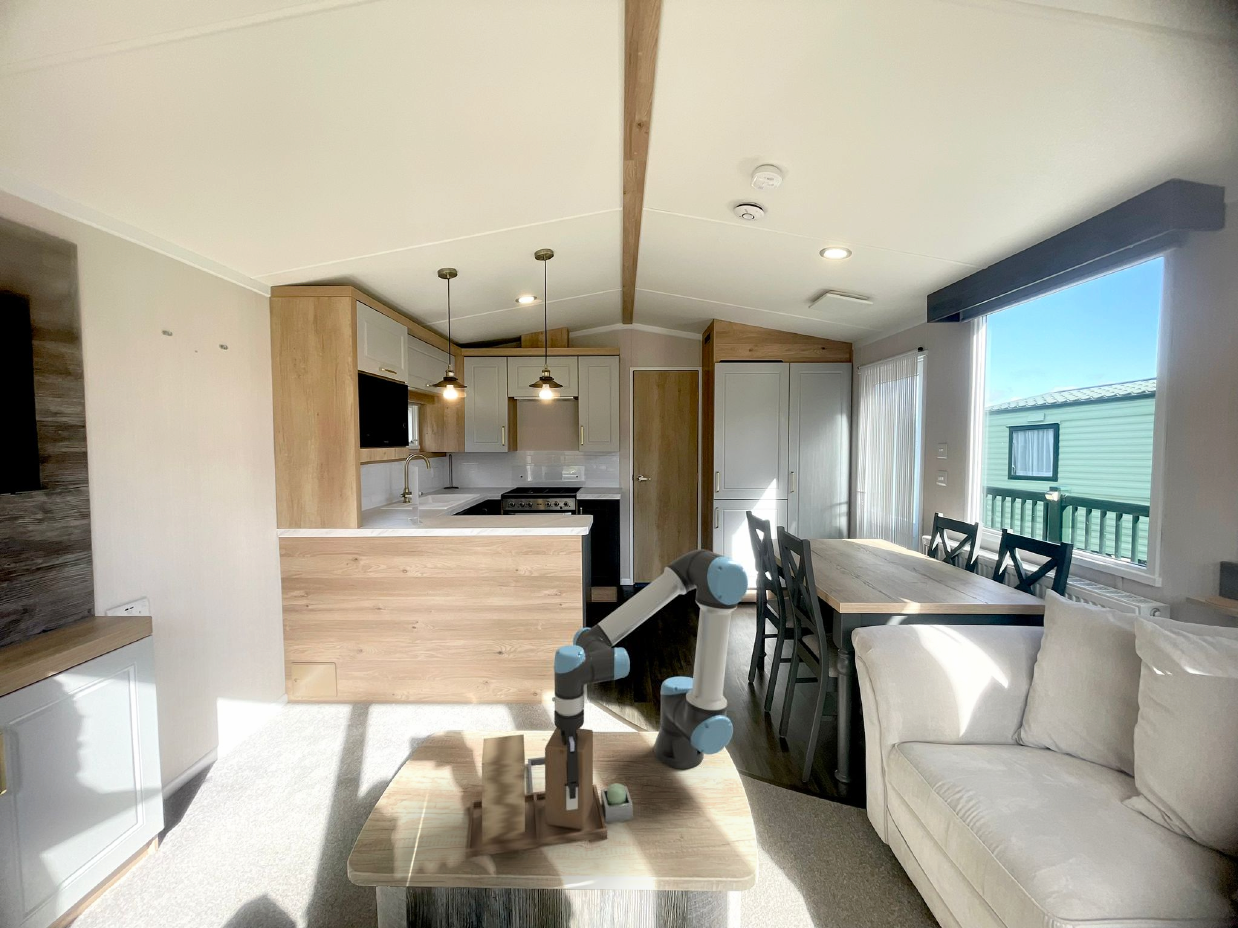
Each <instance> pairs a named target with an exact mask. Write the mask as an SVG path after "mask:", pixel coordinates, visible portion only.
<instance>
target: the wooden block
mask: <svg viewBox="0 0 1238 928" xmlns="http://www.w3.org/2000/svg"><path fill="white" fill-rule="evenodd" d="M576 733H578V740H577V743H578V745H577V754H578V777H579V787H578V809H572V810H566V786H564V784H565V783H566V782H567V769H566V760H567V745H563V742H562V736H561V730H559V729H558V728H557V727H556V726H555V729H554V731H553V733H552V734H551V736H550V738H549V740H548V742H547V743H546V745H545V747H544V757H545V763H544V781H545V782H544V791H545V823H546V824H548V825H555V826H561V827H568V828H574V829H581V830H582V829H584V826H585V823H586V820H587V818H588V815H589V812H590V809H591V806H592V803H593V785H594V784H593V783H594V731H593V729H587V728H581V727H580V728H579V729H577V730H576ZM565 743H566V742H565Z"/></svg>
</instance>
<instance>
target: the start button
mask: <svg viewBox="0 0 1238 928" xmlns="http://www.w3.org/2000/svg"><path fill="white" fill-rule="evenodd" d="M606 789H607V804H608V806H611V805H618V804H625V803H626V788H625V786H624V785H623V784H621V783H617V782H615V783H612V784H610V785H608V787H607V788H606Z"/></svg>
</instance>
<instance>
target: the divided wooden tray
mask: <svg viewBox="0 0 1238 928" xmlns="http://www.w3.org/2000/svg"><path fill="white" fill-rule="evenodd" d="M541 791H542V792H541ZM541 791H535V792H534V791H533V792H534V793H530V792H525V838H518V839H512V840H505V841H498V842H491V843H485V844H482V798H481V799H473V800H471V801H470V805H469V806H470V807H469V817H468V825H467V826H468V827H467V836H466V837H467V838H466V843H465V844H466V847H465V858H466V859H468V858H469V859H470V858H475V857H476V858H477V857H480V856H481V857H482V856H489V855H494V854H495V855H496V854H502V853H509V852H515V851H521V850H529V849H533V848H534V849H535V848H540V847H545V846H547V847H548V846H553V845H561V844H568V843H575V842H581V841H586V840H587V841H588V842H594V841H600V840H606V839H608V828H607V827H608V826H607V823H605V819H604V815H603V811H602V807H601V798H600V796H599V791H598V786H597V784H596V783H595V784H593V803H592V806H591V809H590V812H589V815H588V818H587V820H586V823H585V826H584V829H582V830H581V829H574V828H568V827H561V826H555V825H548V824H546V823H545V790H541Z"/></svg>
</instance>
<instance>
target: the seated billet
mask: <svg viewBox="0 0 1238 928" xmlns="http://www.w3.org/2000/svg"><path fill="white" fill-rule="evenodd" d="M482 742H483V744H482V745H483V746H482V755H481V756H482V757H481V799H482V844H485V843H491V842H498V841H505V840H512V839H518V838H525V794H526V791H525V790H526V789H525V788H526V785H525V782H526V779H525V777H526V770H525V769H526V763H525V762H526V755H525V753H526V751H525V737H524V734H515V735H507V736H496V737H495V736H494V737H487V738H483V741H482Z"/></svg>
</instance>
